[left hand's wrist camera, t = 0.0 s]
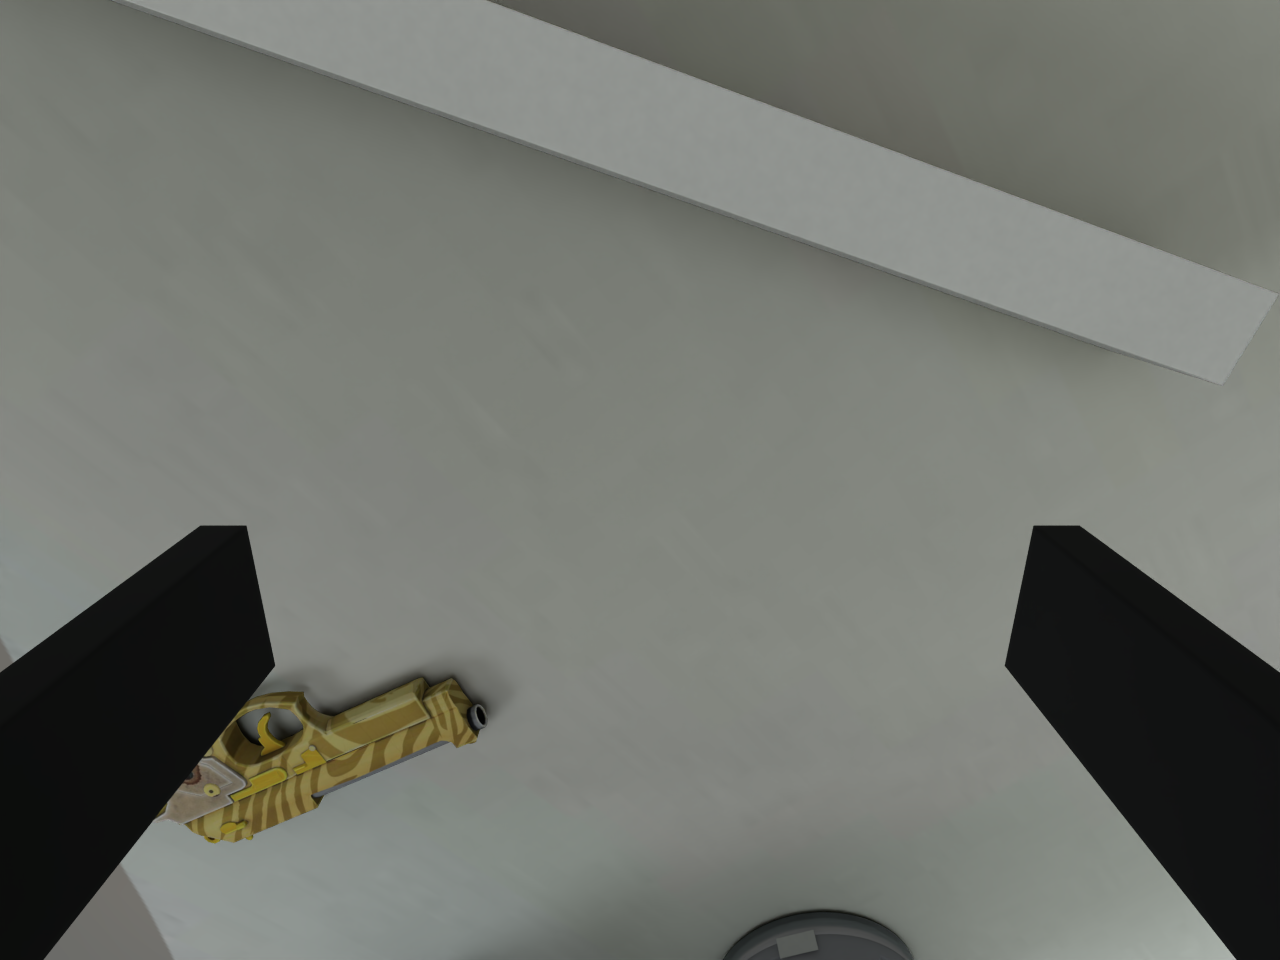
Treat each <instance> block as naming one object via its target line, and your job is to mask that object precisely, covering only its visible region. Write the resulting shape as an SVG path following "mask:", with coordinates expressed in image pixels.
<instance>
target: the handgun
mask: <svg viewBox="0 0 1280 960" xmlns="http://www.w3.org/2000/svg"><path fill="white" fill-rule="evenodd" d="M268 707H273V708H281V709H289V710H290V711H291V712H293V713H294V714H295V715H296V716H297V718H298V719H299V720H300V721H301V723H302V725H303V730H301V731H299V732H298V733H296V734H294V735H293V736H291V737H288V738H285V739H283V740H281V741H279V740H277V739H276V738H275V737H274V736H273V735H272V734H271V733H270V732H269V730H268V721H269V719H270V717H271V714H270V712H269V713H266V714H264V716H263V717H262V718H261V720H260V721H259V722H258V727H257V730H258V733H259V735H260V737H259V738H258V740H259V741H260V743H261V744H262V745H263V746H259V745H256V744H253V743H251V742H250V741H248V740H247V739H246V738H245V736H244V735H243V734H242V732H241V731H240V729H239V727H238V725H237V723H236V720H237V719H239V718H240V717H242V716H243V715H245V714H246V713H248V712H250V711H252V710H255V709H261V708H268ZM486 725H487V715H486V712H485V710H484V708H483V707H482V706H481V705H479V704H476V705H474V706H473V705H472V703H471V702H470V701H469V699H468V698H467V697H466V696H465V695H464V693H463V692H462V690H461V688H460V686H459V685H458V684H457V682H456V681H455V680H453V679H452V678H451V679H449V680H446V681H444V682H442V683H439V684H437V685H435V686H432V687H429V686H428V684H427V683H426V681H425V680H424V679H423V678H418V679H416V680H414V681H411V682H409V683H407V684H405V685H402V686H400V687H398V688H396V689H393V690H391V691H389V692H387V693H385V694H382V695H380V696H378V697H376V698H373V699H371V700H369V701H367V702H364V703H362V704H360V705H358V706H355V707H353V708H351V709H349V710H347V711H344V712H342V713H340V714H338V715H335V716H329V715H324V714H321V713H319V712H318V711H316V710H315V709H314V708H312V707H311V705H310V704H309V703H308V702H307V700H306V699H305V697H304V692H294V691H288V692H275V693H269V694H265V695H261V696H257V697H255V698H253V699H251V700H249V701H247V702H246V703H245V705H244V706H243V707H242V709H241V710H240V711H239V712H238V714H237V715H236V716H235V717H234V719H233V720H232V721H231V722H230V724H229V725H228V726H227V728H226V729H225V730H224V731H223V733H222V734H221V735H220V736H219V738H218V739H217V740H216V741H215V743H214V744H213V745H212V747H211V748H210V749H209V750H208V752H207V753H206V754H205V755H204V757H203V758H202V759H201V761H200V762H199V763H198V764H197V766H196V767H195V768H194V769H193V771H192V772H191V773H190V774H189V776H188V777H187V778H186V780H185V781H184V782H183V783H182V785H181V786H180V787H179V788H178V790H177V791H176V792H175V793H174V795H173V796H172V797H171V799H170V800H169V801H168V802H167V804H166V805H165V806H164V807H163V809H162V810H161V811H160V813H159V814H158V815H157V816H156V818H155V819H154V820H153V823H158V822H161V821H165V820H170V821H173V822H175V823H177V824H179V825H182V824H185V825H186V826H187V827H188V828H189V829H190V830H191V831H192V832H194V833H196V834H198V835H201V836H204V838H205V839H206V840H207V841H208V842H211V843H217V842H219V841H220V840H224V841H229V842H233V843H234V842H237V841H239V840H241V839H244V838H246V839H248V840H251V839H252V838H253V834H256V833H258V832H261V831H263V830H265V829H268V828H270V827H272V826H275V825H277V824H280V823H282V822H284V821H287V820H289V819H292V818H294V817H296V816H299V815H301V814H303V813H306V812H308V811H311V810H313V809H315V808H317V807H318V806H319V804H320V802H321V800H322V798H323V796H324V795H325V794H328V793H330V792H332V791H335V790H337V789H340V788H342V787H344V786H347V785H349V784H351V783H354V782H356V781H359V780H361V779H363V778H366V777H368V776H370V775H373V774H375V773H378V772H380V771H382V770H385V769H387V768H389V767H392V766H394V765H397V764H399V763H401V762H404V761H406V760H408V759H411V758H413V757H416V756H418V755H420V754H423V753H425V752H427V751H430V750H432V749H435V748H437V747H439V746H442V745H444V744H446V743H449V742H452V743H453V744H454V745H455V747H456V748H458V747H461V746H463V745H466V744H468V743H470V744H471V743H474V742H476V740H477V737H478V734H479V730H480V729H482V728H484V727H486Z"/></svg>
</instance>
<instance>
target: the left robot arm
mask: <svg viewBox="0 0 1280 960" xmlns="http://www.w3.org/2000/svg"><path fill="white" fill-rule="evenodd" d="M274 667H275V662H274V658H273V653H272V648H271V643H270V638H269V633H268V628H267V623H266V619H265V614H264V609H263V604H262V599H261V594H260V589H259V584H258V580H257V575H256V570H255V565H254V560H253V555H252V550H251V545H250V541H249V536H248V531H247V526H199V527H198V528H197V529H195V530H194V531H193V532H191V533H190V534H188V535H187V536H186V537H184V538H183V539H182V540H180V541H179V542H178V543H176V544H175V545H173V546H172V547H171V548H169V549H168V550H167V551H165V552H164V553H163V554H161V555H160V556H158V557H157V558H156V559H154V560H153V561H152V562H150V563H149V564H148V565H146V566H145V567H143V568H142V569H141V570H139V571H138V572H137V573H135V574H134V575H133V576H131V577H130V578H128V579H127V580H126V581H124V582H123V583H122V584H120V585H119V586H118V587H116V588H115V589H113V590H112V591H111V592H109V593H108V594H107V595H105V596H104V597H103V598H101V599H100V600H98V601H97V602H96V603H94V604H93V605H92V606H90V607H89V608H88V609H86V610H85V611H83V612H82V613H81V614H79V615H78V616H77V617H75V618H74V619H73V620H71V621H70V622H68V623H67V624H66V625H64V626H63V627H62V628H60V629H59V630H58V631H56V632H55V633H54V634H52V635H51V636H49V637H48V638H47V639H45V640H44V641H43V642H41V643H40V644H39V645H37V646H36V647H34V648H33V649H32V650H30V651H29V652H28V653H26V654H25V655H24V656H22V657H21V658H19V659H18V660H17V661H15V662H14V663H13V664H11V665H10V666H9V667H7V668H6V669H4V670H3V671H2V672H0V960H44V958H45V957H46V956H47V954H48V953H49V952H50V951H51V949H52V948H53V947H54V946H55V944H56V943H57V942H58V941H59V939H60V938H61V937H62V936H63V934H64V933H65V932H66V930H67V929H68V928H69V927H70V925H71V924H72V923H73V922H74V920H75V919H76V918H77V916H78V915H79V914H80V913H81V911H82V910H83V909H84V908H85V906H86V905H87V904H88V903H89V901H90V900H91V899H92V897H93V896H94V895H95V894H96V892H97V891H98V890H99V889H100V887H101V886H102V885H103V884H104V882H105V881H106V880H107V878H108V877H109V876H110V875H111V873H112V872H113V871H114V870H115V868H116V867H117V866H118V865H119V863H120V862H121V861H122V859H123V858H124V857H125V856H126V854H127V853H128V852H129V851H130V849H131V848H132V847H133V845H134V844H135V843H136V842H137V840H138V839H139V838H140V837H141V835H142V834H143V833H144V832H145V830H146V829H147V828H148V826H149V825H150V824H151V823H152V821H153V820H154V819H155V818H156V816H157V815H158V814H159V813H160V811H161V810H162V809H163V807H164V806H165V805H166V804H167V802H168V801H169V800H170V799H171V797H172V796H173V795H174V793H175V792H176V791H177V790H178V788H179V787H180V786H181V785H182V783H183V782H184V781H185V780H186V778H187V777H188V776H189V774H190V773H191V772H192V771H193V769H194V768H195V767H196V766H197V764H198V763H199V762H200V761H201V759H202V758H203V757H204V755H205V754H206V753H207V752H208V750H209V749H210V748H211V747H212V745H213V744H214V743H215V741H216V740H217V739H218V738H219V736H220V735H221V734H222V733H223V731H224V730H225V729H226V728H227V726H228V725H229V724H230V722H231V721H232V720H233V719H234V717H235V716H236V715H237V714H238V712H239V711H240V710H241V709H242V707H243V706H244V705H245V703H246V702H247V701H248V700H249V698H250V697H251V696H252V695H253V693H254V692H255V691H256V689H257V688H258V687H259V686H260V684H261V683H262V682H263V681H264V679H265V678H266V677H267V676H268V674H269V673H270V672H271V670H272V669H273V668H274ZM1005 667H1006V668H1007V669H1008V670H1009V672H1010V673H1011V674H1012V676H1013V677H1014V678H1015V679H1016V681H1017V682H1018V683H1019V684H1020V686H1021V687H1022V688H1023V689H1024V691H1025V692H1026V693H1027V695H1028V696H1029V697H1030V698H1031V700H1032V701H1033V702H1034V703H1035V705H1036V706H1037V707H1038V709H1039V710H1040V711H1041V712H1042V714H1043V715H1044V716H1045V717H1046V719H1047V720H1048V721H1049V722H1050V724H1051V725H1052V726H1053V728H1054V729H1055V730H1056V731H1057V733H1058V734H1059V735H1060V736H1061V738H1062V739H1063V740H1064V741H1065V743H1066V744H1067V745H1068V747H1069V748H1070V749H1071V750H1072V752H1073V753H1074V754H1075V755H1076V757H1077V758H1078V759H1079V761H1080V762H1081V763H1082V764H1083V766H1084V767H1085V768H1086V769H1087V771H1088V772H1089V773H1090V774H1091V776H1092V777H1093V778H1094V780H1095V781H1096V782H1097V783H1098V785H1099V786H1100V787H1101V788H1102V790H1103V791H1104V792H1105V793H1106V795H1107V796H1108V797H1109V799H1110V800H1111V801H1112V802H1113V804H1114V805H1115V806H1116V807H1117V809H1118V810H1119V811H1120V813H1121V814H1122V815H1123V816H1124V818H1125V819H1126V820H1127V821H1128V823H1129V824H1130V825H1131V826H1132V828H1133V829H1134V830H1135V832H1136V833H1137V834H1138V835H1139V837H1140V838H1141V839H1142V840H1143V842H1144V843H1145V844H1146V845H1147V847H1148V848H1149V849H1150V851H1151V852H1152V853H1153V854H1154V856H1155V857H1156V858H1157V859H1158V861H1159V862H1160V863H1161V865H1162V866H1163V867H1164V868H1165V870H1166V871H1167V872H1168V873H1169V875H1170V876H1171V877H1172V878H1173V880H1174V881H1175V882H1176V884H1177V885H1178V886H1179V887H1180V889H1181V890H1182V891H1183V892H1184V894H1185V895H1186V896H1187V897H1188V899H1189V900H1190V901H1191V903H1192V904H1193V905H1194V906H1195V908H1196V909H1197V910H1198V911H1199V913H1200V914H1201V915H1202V916H1203V918H1204V919H1205V920H1206V922H1207V923H1208V924H1209V925H1210V927H1211V928H1212V929H1213V930H1214V932H1215V933H1216V934H1217V936H1218V937H1219V938H1220V939H1221V941H1222V942H1223V943H1224V944H1225V946H1226V947H1227V948H1228V949H1229V951H1230V952H1231V953H1232V955H1233V956H1234V957H1235V958H1236V960H1280V672H1278V671H1277V670H1276V669H1274V668H1273V667H1271V666H1270V665H1269V664H1267V663H1266V662H1265V661H1263V660H1262V659H1261V658H1259V657H1258V656H1256V655H1255V654H1254V653H1252V652H1251V651H1250V650H1248V649H1247V648H1246V647H1244V646H1243V645H1241V644H1240V643H1239V642H1237V641H1236V640H1235V639H1233V638H1232V637H1231V636H1229V635H1228V634H1226V633H1225V632H1224V631H1222V630H1221V629H1220V628H1218V627H1217V626H1216V625H1214V624H1213V623H1212V622H1210V621H1209V620H1207V619H1206V618H1205V617H1203V616H1202V615H1201V614H1199V613H1198V612H1197V611H1195V610H1194V609H1192V608H1191V607H1190V606H1188V605H1187V604H1186V603H1184V602H1183V601H1182V600H1180V599H1179V598H1177V597H1176V596H1175V595H1173V594H1172V593H1171V592H1169V591H1168V590H1167V589H1165V588H1164V587H1162V586H1161V585H1160V584H1158V583H1157V582H1156V581H1154V580H1153V579H1152V578H1150V577H1149V576H1147V575H1146V574H1145V573H1143V572H1142V571H1141V570H1139V569H1138V568H1137V567H1135V566H1134V565H1132V564H1131V563H1130V562H1128V561H1127V560H1126V559H1124V558H1123V557H1122V556H1120V555H1119V554H1117V553H1116V552H1115V551H1113V550H1112V549H1111V548H1109V547H1108V546H1107V545H1105V544H1104V543H1102V542H1101V541H1100V540H1098V539H1097V538H1096V537H1094V536H1093V535H1092V534H1090V533H1089V532H1087V531H1086V530H1085V529H1083V528H1082V527H1081V526H1033V531H1032V536H1031V541H1030V545H1029V550H1028V555H1027V560H1026V565H1025V570H1024V575H1023V580H1022V584H1021V589H1020V594H1019V599H1018V604H1017V609H1016V614H1015V619H1014V623H1013V628H1012V633H1011V638H1010V643H1009V648H1008V653H1007V658H1006V662H1005ZM723 960H914V959H913V956H912V954H911V952H910V951H909V949H908V948H907V946H906V945H905V944H904V943H903V941H902V940H901V939H900V938H899V937H897V936H896V935H895V934H894V933H893V932H891V931H890V930H888V929H887V928H885V927H883V926H882V925H880V924H877V923H875V922H873V921H870V920H868V919H865V918H862V917H858V916H854V915H849V914H843V913H831V912H818V913H806V914H799V915H794V916H790V917H786V918H782V919H779V920H776V921H773V922H771V923H768V924H766V925H764V926H762V927H760V928H758V929H756V930H754V931H753V932H751V933H750V934H748V935H747V936H745V937H744V938H743V939H741V940H740V941H739V942H738V943H737V944H736V945H735V946H734V947H733V948H732V949H731V950H730V951H729V952H728V954H727V955H726V956H725V958H724V959H723Z"/></svg>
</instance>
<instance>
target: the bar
mask: <svg viewBox="0 0 1280 960" xmlns="http://www.w3.org/2000/svg"><path fill="white" fill-rule="evenodd" d="M111 1H114V2H117V3H120V4H123V5H125V6H128V7H131V8H134V9H137V10H140V11H143V12H145V13H148V14H151V15H154V16H157V17H160V18H163V19H165V20H168V21H171V22H174V23H177V24H180V25H183V26H185V27H188V28H191V29H194V30H197V31H200V32H202V33H205V34H208V35H211V36H214V37H217V38H220V39H222V40H225V41H228V42H231V43H234V44H237V45H240V46H242V47H245V48H248V49H251V50H254V51H257V52H260V53H262V54H265V55H268V56H271V57H274V58H277V59H280V60H282V61H285V62H288V63H291V64H294V65H297V66H299V67H302V68H305V69H308V70H311V71H314V72H317V73H319V74H322V75H325V76H328V77H331V78H334V79H337V80H339V81H342V82H345V83H348V84H351V85H354V86H357V87H359V88H362V89H365V90H368V91H371V92H374V93H377V94H379V95H382V96H385V97H388V98H391V99H394V100H396V101H399V102H402V103H405V104H408V105H411V106H414V107H416V108H419V109H422V110H425V111H428V112H431V113H434V114H436V115H439V116H442V117H445V118H448V119H451V120H454V121H456V122H459V123H462V124H465V125H468V126H471V127H474V128H476V129H479V130H482V131H485V132H488V133H491V134H493V135H496V136H499V137H502V138H505V139H508V140H511V141H513V142H516V143H519V144H522V145H525V146H528V147H531V148H533V149H536V150H539V151H542V152H545V153H548V154H551V155H553V156H556V157H559V158H562V159H565V160H568V161H571V162H573V163H576V164H579V165H582V166H585V167H588V168H590V169H593V170H596V171H599V172H602V173H605V174H608V175H610V176H613V177H616V178H619V179H622V180H625V181H628V182H630V183H633V184H636V185H639V186H642V187H645V188H648V189H650V190H653V191H656V192H659V193H662V194H665V195H668V196H670V197H673V198H676V199H679V200H682V201H685V202H687V203H690V204H693V205H696V206H699V207H702V208H705V209H707V210H710V211H713V212H716V213H719V214H722V215H725V216H727V217H730V218H733V219H736V220H739V221H742V222H745V223H747V224H750V225H753V226H756V227H759V228H762V229H765V230H767V231H770V232H773V233H776V234H779V235H782V236H784V237H787V238H790V239H793V240H796V241H799V242H802V243H804V244H807V245H810V246H813V247H816V248H819V249H822V250H824V251H827V252H830V253H833V254H836V255H839V256H842V257H844V258H847V259H850V260H853V261H856V262H859V263H862V264H864V265H867V266H870V267H873V268H876V269H879V270H882V271H884V272H887V273H890V274H893V275H896V276H899V277H901V278H904V279H907V280H910V281H913V282H916V283H919V284H921V285H924V286H927V287H930V288H933V289H936V290H939V291H941V292H944V293H947V294H950V295H953V296H956V297H959V298H961V299H964V300H967V301H970V302H973V303H976V304H979V305H981V306H984V307H987V308H990V309H993V310H996V311H998V312H1001V313H1004V314H1007V315H1010V316H1013V317H1016V318H1018V319H1021V320H1024V321H1027V322H1030V323H1033V324H1036V325H1038V326H1041V327H1044V328H1047V329H1050V330H1053V331H1056V332H1058V333H1061V334H1064V335H1067V336H1070V337H1073V338H1076V339H1078V340H1081V341H1084V342H1087V343H1090V344H1093V345H1095V346H1098V347H1101V348H1104V349H1107V350H1110V351H1113V352H1116V353H1119V354H1122V355H1125V356H1128V357H1132V358H1135V359H1138V360H1141V361H1144V362H1148V363H1151V364H1154V365H1157V366H1160V367H1163V368H1167V369H1170V370H1173V371H1176V372H1179V373H1183V374H1186V375H1189V376H1192V377H1195V378H1199V379H1202V380H1205V381H1208V382H1211V383H1214V384H1218V385H1221V386H1223V385H1224V383H1225V381H1226V380H1227V378H1228V376H1229V375H1230V373H1231V372H1232V370H1233V368H1234V367H1235V365H1236V363H1237V362H1238V360H1239V359H1240V357H1241V355H1242V354H1243V352H1244V350H1245V349H1246V347H1247V346H1248V344H1249V342H1250V341H1251V339H1252V337H1253V336H1254V334H1255V333H1256V331H1257V329H1258V328H1259V326H1260V324H1261V323H1262V321H1263V320H1264V318H1265V316H1266V315H1267V313H1268V311H1269V310H1270V308H1271V307H1272V305H1273V303H1274V302H1275V300H1276V298H1277V297H1278V295H1279V294H1278V293H1276V292H1274V291H1271V290H1268V289H1266V288H1263V287H1260V286H1258V285H1255V284H1252V283H1249V282H1247V281H1244V280H1241V279H1239V278H1236V277H1233V276H1231V275H1228V274H1225V273H1222V272H1220V271H1217V270H1214V269H1212V268H1209V267H1206V266H1204V265H1201V264H1198V263H1196V262H1193V261H1190V260H1187V259H1185V258H1182V257H1179V256H1177V255H1174V254H1171V253H1169V252H1166V251H1163V250H1160V249H1158V248H1155V247H1152V246H1150V245H1147V244H1144V243H1142V242H1139V241H1136V240H1133V239H1131V238H1128V237H1125V236H1123V235H1120V234H1117V233H1115V232H1112V231H1109V230H1106V229H1104V228H1101V227H1098V226H1096V225H1093V224H1090V223H1088V222H1085V221H1082V220H1079V219H1077V218H1074V217H1071V216H1069V215H1066V214H1063V213H1061V212H1058V211H1055V210H1052V209H1050V208H1047V207H1044V206H1042V205H1039V204H1036V203H1034V202H1031V201H1028V200H1026V199H1023V198H1020V197H1017V196H1015V195H1012V194H1009V193H1007V192H1004V191H1001V190H999V189H996V188H993V187H990V186H988V185H985V184H982V183H980V182H977V181H974V180H972V179H969V178H966V177H963V176H961V175H958V174H955V173H953V172H950V171H947V170H945V169H942V168H939V167H936V166H934V165H931V164H928V163H926V162H923V161H920V160H918V159H915V158H912V157H909V156H907V155H904V154H901V153H899V152H896V151H893V150H891V149H888V148H885V147H882V146H880V145H877V144H874V143H872V142H869V141H866V140H864V139H861V138H858V137H855V136H853V135H850V134H847V133H845V132H842V131H839V130H837V129H834V128H831V127H829V126H826V125H823V124H820V123H818V122H815V121H812V120H810V119H807V118H804V117H802V116H799V115H796V114H793V113H791V112H788V111H785V110H783V109H780V108H777V107H775V106H772V105H769V104H766V103H764V102H761V101H758V100H756V99H753V98H750V97H748V96H745V95H742V94H739V93H737V92H734V91H731V90H729V89H726V88H723V87H721V86H718V85H715V84H712V83H710V82H707V81H704V80H702V79H699V78H696V77H694V76H691V75H688V74H685V73H683V72H680V71H677V70H675V69H672V68H669V67H667V66H664V65H661V64H658V63H656V62H653V61H650V60H648V59H645V58H642V57H640V56H637V55H634V54H632V53H629V52H626V51H623V50H621V49H618V48H615V47H613V46H610V45H607V44H605V43H602V42H599V41H596V40H594V39H591V38H588V37H586V36H583V35H580V34H578V33H575V32H572V31H569V30H567V29H564V28H561V27H559V26H556V25H553V24H551V23H548V22H545V21H542V20H540V19H537V18H534V17H532V16H529V15H526V14H524V13H521V12H518V11H515V10H513V9H510V8H507V7H505V6H502V5H499V4H497V3H494V2H491V1H488V0H111Z"/></svg>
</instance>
